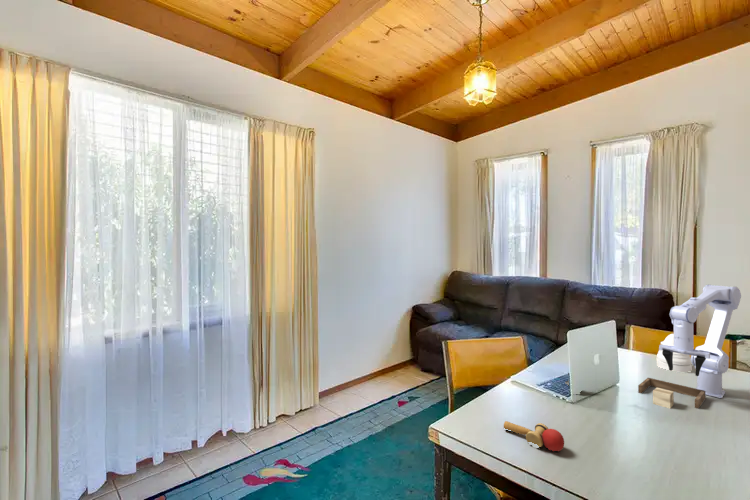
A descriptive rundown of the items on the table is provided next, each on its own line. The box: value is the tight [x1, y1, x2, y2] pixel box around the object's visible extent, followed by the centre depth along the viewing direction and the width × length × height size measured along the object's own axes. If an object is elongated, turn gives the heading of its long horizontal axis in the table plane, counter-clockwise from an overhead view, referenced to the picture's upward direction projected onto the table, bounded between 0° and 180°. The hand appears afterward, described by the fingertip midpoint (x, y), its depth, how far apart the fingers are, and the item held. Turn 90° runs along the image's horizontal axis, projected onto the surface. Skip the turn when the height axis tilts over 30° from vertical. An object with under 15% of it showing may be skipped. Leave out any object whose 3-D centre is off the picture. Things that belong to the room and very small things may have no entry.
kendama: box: [503, 420, 565, 452], centre depth 107 cm, size 8×6×18 cm
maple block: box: [652, 387, 675, 409], centre depth 130 cm, size 5×5×5 cm
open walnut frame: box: [637, 377, 707, 409], centre depth 137 cm, size 13×18×3 cm
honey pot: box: [656, 333, 693, 373], centre depth 166 cm, size 13×13×18 cm
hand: (683, 372), depth 133 cm, fingers open, 7 cm apart
